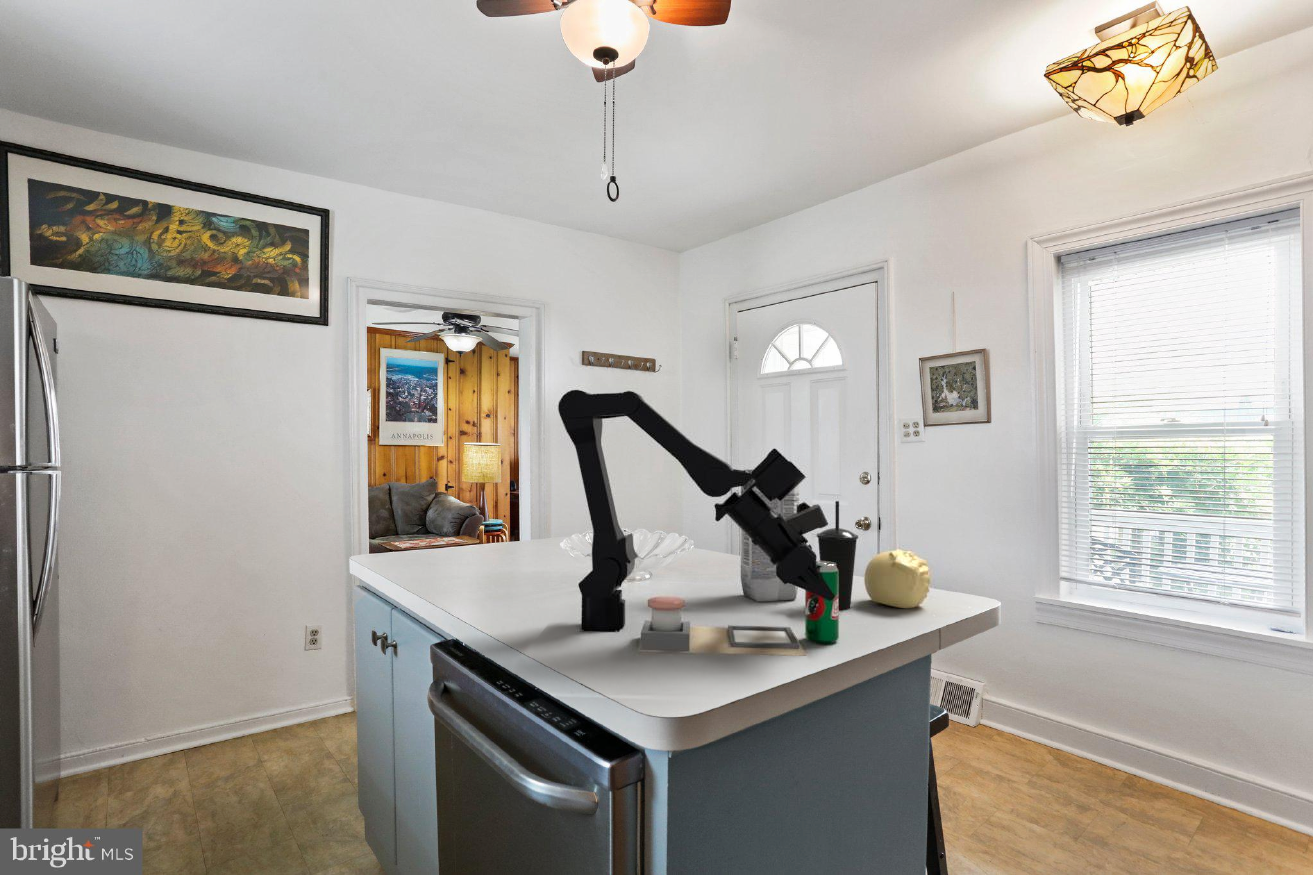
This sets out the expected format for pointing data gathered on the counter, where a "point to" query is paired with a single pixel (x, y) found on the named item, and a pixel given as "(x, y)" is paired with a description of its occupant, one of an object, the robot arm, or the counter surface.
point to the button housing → (665, 638)
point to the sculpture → (897, 579)
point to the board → (742, 641)
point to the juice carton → (765, 557)
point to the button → (666, 613)
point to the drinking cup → (840, 556)
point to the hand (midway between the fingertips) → (831, 594)
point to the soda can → (823, 608)
